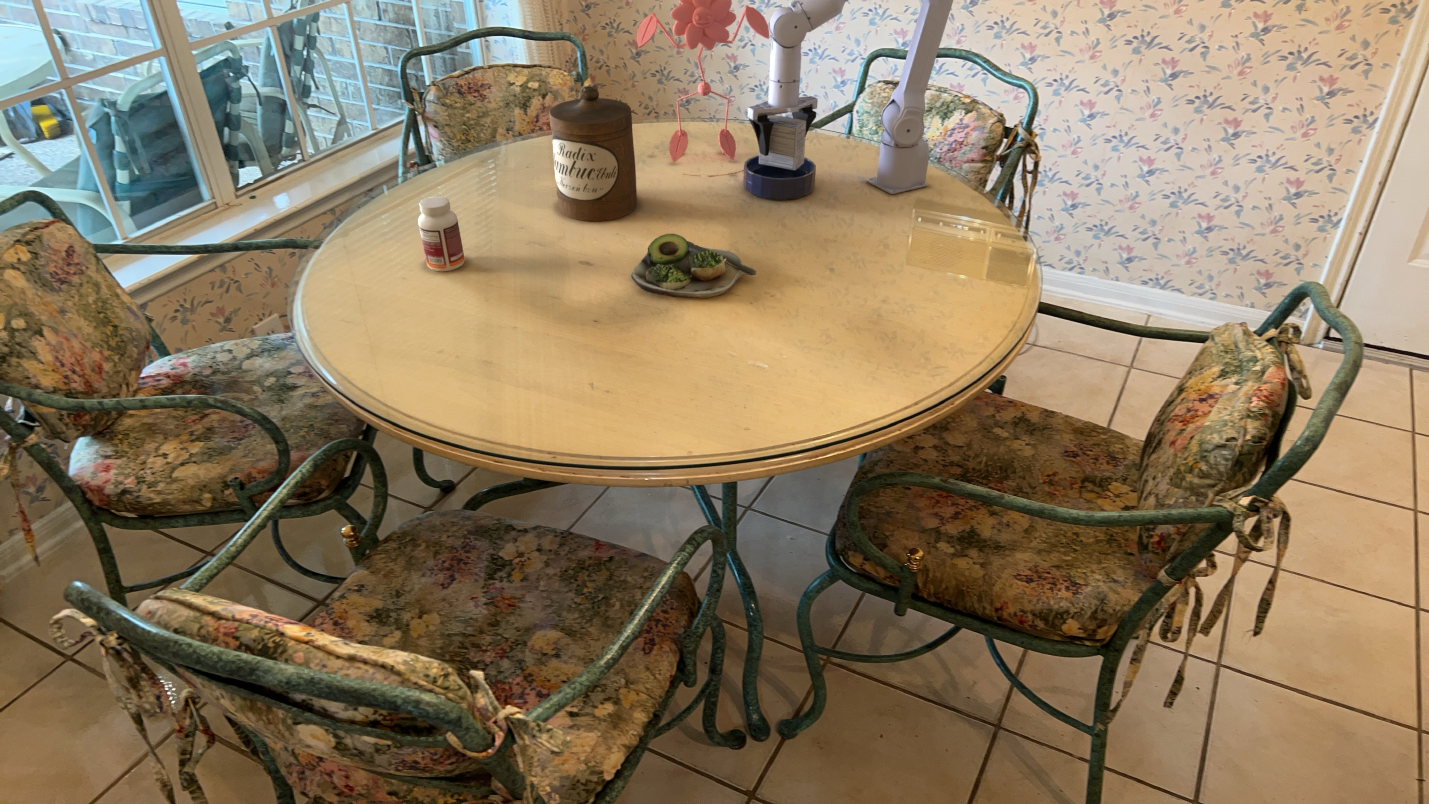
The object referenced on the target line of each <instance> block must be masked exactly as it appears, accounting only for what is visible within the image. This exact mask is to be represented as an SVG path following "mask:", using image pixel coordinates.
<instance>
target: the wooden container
mask: <svg viewBox="0 0 1429 804" xmlns="http://www.w3.org/2000/svg"><path fill="white" fill-rule="evenodd" d="M599 96H600V92H599V90H598V89H597V88H594V87H593V86H584V87H583V88H582V89H581V90H579V92H578V97H579V99H571V100H567V101H562V102H561V103H560V102H559V103H557V104H556V105H554V106H552V107H551V108H550V110H549V112H548V113H549V115H548V116H549V126H550V131H551V140H552V141H551V142H552V151H553V152H552V153H553V168H554V179H555V188H556V197H557V198H556V199H557V206H558V210H559V212H560V213H561V214H563V215H564V216H566V217H568V218H570V219H575V220H578V221H585V222H603V221H605V222H606V221H611V220H616V219H620V218H622V217H625V216H627V215H629V214H631V213H632V212H633V211H635V210H636V209H637V206H638V195H637V194H638V192H637V171H636V157H635V146H634V145H635V144H634V134H633V114H632V109H631V106H630V105H629V104H628V103H625V102H623V101H621V100H617V99H612V98H606V97H605V98H604V97H599Z"/></svg>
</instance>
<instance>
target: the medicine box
mask: <svg viewBox="0 0 1429 804" xmlns="http://www.w3.org/2000/svg"><path fill="white" fill-rule="evenodd" d="M768 118H769V121H771V122H773V123H774V125H773V128H772V131H771V136H770V146H769V154H768V156H764V155H762V154H761V153H760V151H759V150H758V152H759V153H758V155H759V164H764V165H770V166H775V167H780V168H785V169H790V170H796V169H797V168H799V167H800V166H801V165H802V164H804V158H805V151H806V137H805V134H806V121H805V120H800V119H795V118H793V117H788V116H784V115H778V114H777V115H772V116H768Z"/></svg>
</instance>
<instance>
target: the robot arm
mask: <svg viewBox="0 0 1429 804" xmlns="http://www.w3.org/2000/svg"><path fill="white" fill-rule="evenodd" d="M848 1H849V0H796V1H795V0H791V1H789V3H788V4H789V6H783V7H780V8H778V9H776V10H775V11H774V12H773V13H772V16H771V17H770V20H769V22H767V24H768V28H769V33H770V34H771V35H772V37H771V43H770V49H771V50H770V53H769V69H768V70H769V71H768V73H769V74H768V94H767V95H768V96H767V100H765V101H763V102H760V103H757V104H755V105H752V106H748V107H747V118H748V121H749V123H750V125H751V127H752V129H753V132H754V134H755V137H756V141H757V145H758V152H759V151H760V153H761V154H762V155H764V156H768V154H769V146H770V136H771V131H772V128H773V125H774V123H773V122H771V121H769V118H768V116H772V115H777V116H778V115H782V114H783V115H784V114H787V113H790V114H791V115H792V117H791V118H795V119H800V120H805V121H806V134H805V138H806V137H807V135H808V132H809V130H810V127H811V126H812V125H813V123H814V121H815V120H816V118H817V111H815V110H817V109H818V103H819V102H818V100H819V98H817V97H815V96H813V95H809V96H800V87H801V86H800V85H801V69H802V43H803V42H804V40H805V38H806V36H807V33H811V32H813V31H814V30H816V29H818V28H819V27H821V26H822V25H824V24H825V23H827V22H829V21H830V20H832V19H834V18H836V17H837V16H839V15H841V14H842V12H843V9H844V6H845V4H846V3H847V2H848ZM953 3H954V0H922V2H921V4H920V5H921V6H920V9H919V12H918V16H917V19H916V23H915V27H914V30H913V34H912V37H911V40H910V42H909V43H910V44H909V47H908V51H907V54H906V58H905V61H904V65H903V67H902V71H901V75H900V79H899V82H898V84H897V85H898V86H896V87H895V89H894V90H893V91H892V92H891V95H890V99H889V100H888V102H887V103H886V104H885V106H883V109H882V111H881V114H880V123H881V125H882V127H883V128H884V131H883V133H882V135H881V138H880V148H879V155H878V163H877V170H876V171H877V173H876V176H874V177H871V178H867V179H866V182H867V183H869V184H871V185H873V186H874V187H876V188H878V189H880V190H882V191H884V192H886V193H888V194H889V195H895V194H899V193H904V192H908V191H912V190H916V189H920V188H921V189H922V188H924V187H928V186H929V182H927V181H926V180H927V174H928V167H929V161H930V148H929V144H928V142H927V141H926V140H925V139H924V138H923V135H924V133H925V122H924V119H925V118H924V116H925V113H926V98H925V97H926V96H925V94H926V91H927V88H928V85H929V81H930V79H931V75H932V71H933V69H934V66H935V62H936V58H937V55H938V52H939V49H940V47H941V42H942V39H943V36H944V33H945V30H946V25H947V23H948V19H949V17H950V13H951V9H952V7H953Z"/></svg>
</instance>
